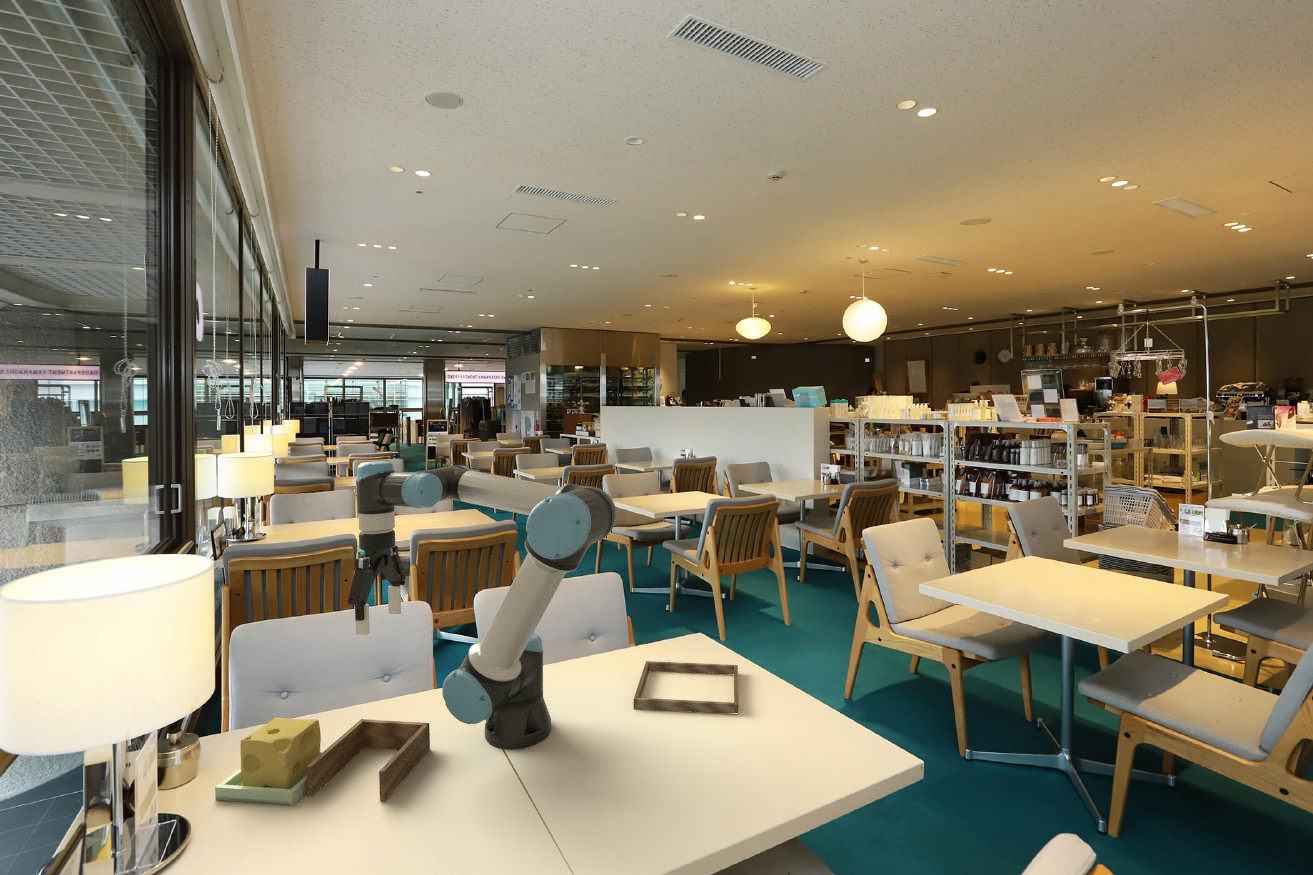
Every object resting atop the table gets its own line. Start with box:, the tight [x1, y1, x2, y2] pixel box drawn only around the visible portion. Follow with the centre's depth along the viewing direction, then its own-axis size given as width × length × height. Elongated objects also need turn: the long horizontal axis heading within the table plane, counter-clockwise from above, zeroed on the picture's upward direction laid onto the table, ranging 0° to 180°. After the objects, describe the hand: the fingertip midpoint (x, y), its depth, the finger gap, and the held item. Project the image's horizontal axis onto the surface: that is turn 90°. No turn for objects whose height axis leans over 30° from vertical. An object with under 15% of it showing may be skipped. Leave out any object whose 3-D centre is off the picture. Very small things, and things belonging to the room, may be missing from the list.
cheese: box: [240, 716, 322, 789], centre depth 133 cm, size 10×11×10 cm
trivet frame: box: [632, 660, 740, 714], centre depth 174 cm, size 26×24×2 cm
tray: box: [214, 749, 326, 806], centre depth 133 cm, size 16×15×2 cm
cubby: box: [306, 718, 431, 803], centre depth 136 cm, size 16×19×6 cm
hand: (379, 623), depth 148 cm, fingers open, 13 cm apart
